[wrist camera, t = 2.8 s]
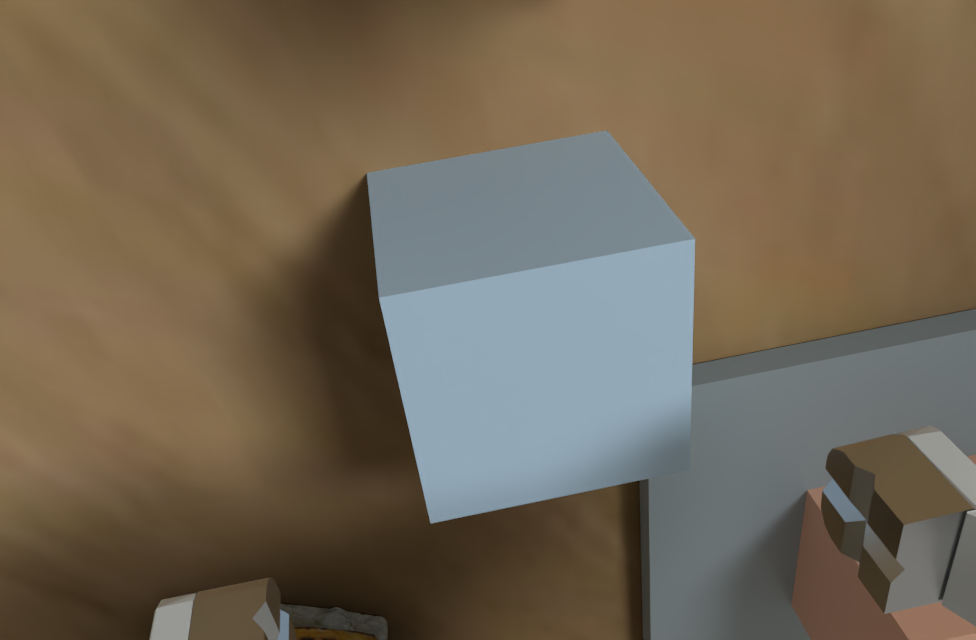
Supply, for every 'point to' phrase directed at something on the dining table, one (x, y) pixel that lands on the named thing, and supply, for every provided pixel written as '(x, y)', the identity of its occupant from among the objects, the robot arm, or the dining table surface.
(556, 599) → the dining table surface
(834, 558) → the base brick
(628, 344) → the blue brick
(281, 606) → the decorative figurine
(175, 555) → the dining table surface
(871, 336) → the plate
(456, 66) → the dining table surface
